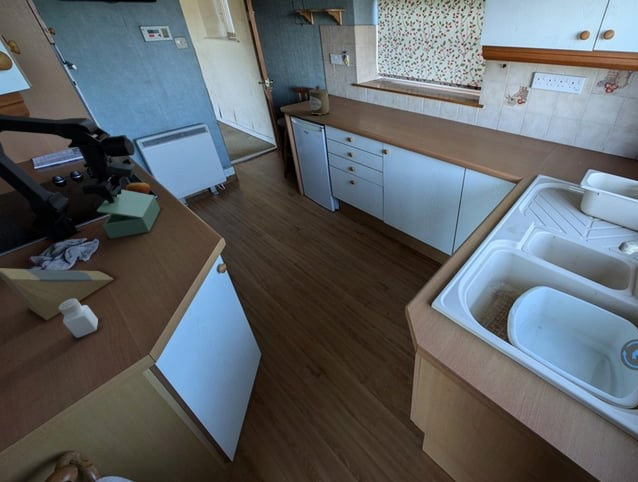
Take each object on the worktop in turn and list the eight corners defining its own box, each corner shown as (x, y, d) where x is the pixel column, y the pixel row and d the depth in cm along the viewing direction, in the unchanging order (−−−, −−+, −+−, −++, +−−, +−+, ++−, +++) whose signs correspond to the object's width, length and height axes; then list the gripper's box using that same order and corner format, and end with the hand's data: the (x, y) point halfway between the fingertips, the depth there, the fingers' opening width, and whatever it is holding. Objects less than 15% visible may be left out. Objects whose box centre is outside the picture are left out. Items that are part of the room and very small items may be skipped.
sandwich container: (115, 279, 86) (89, 240, 79) (47, 321, 74) (9, 279, 67) (98, 270, 89) (72, 231, 82) (30, 309, 77) (-8, 268, 70)
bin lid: (96, 211, 97) (98, 199, 95) (114, 189, 109) (116, 178, 107) (142, 218, 103) (144, 206, 101) (154, 196, 115) (156, 186, 114)
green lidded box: (110, 238, 102) (102, 225, 99) (125, 214, 115) (119, 202, 112) (149, 231, 106) (142, 218, 103) (160, 209, 118) (154, 197, 115)
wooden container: (307, 113, 241) (304, 85, 230) (322, 109, 251) (319, 83, 240) (319, 116, 233) (316, 88, 222) (333, 113, 243) (331, 85, 231)
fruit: (122, 202, 120) (120, 182, 119) (134, 201, 127) (131, 183, 127) (145, 199, 121) (142, 180, 121) (155, 199, 129) (153, 181, 129)
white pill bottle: (97, 331, 72) (77, 305, 67) (76, 339, 70) (53, 314, 65) (99, 319, 75) (80, 294, 70) (78, 327, 73) (57, 302, 68)
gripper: (115, 166, 91) (135, 208, 99) (135, 145, 106) (150, 183, 114) (69, 171, 87) (93, 214, 95) (96, 148, 102) (115, 187, 110)
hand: (116, 198), depth 104 cm, fingers closed on bin lid, 6 cm apart
